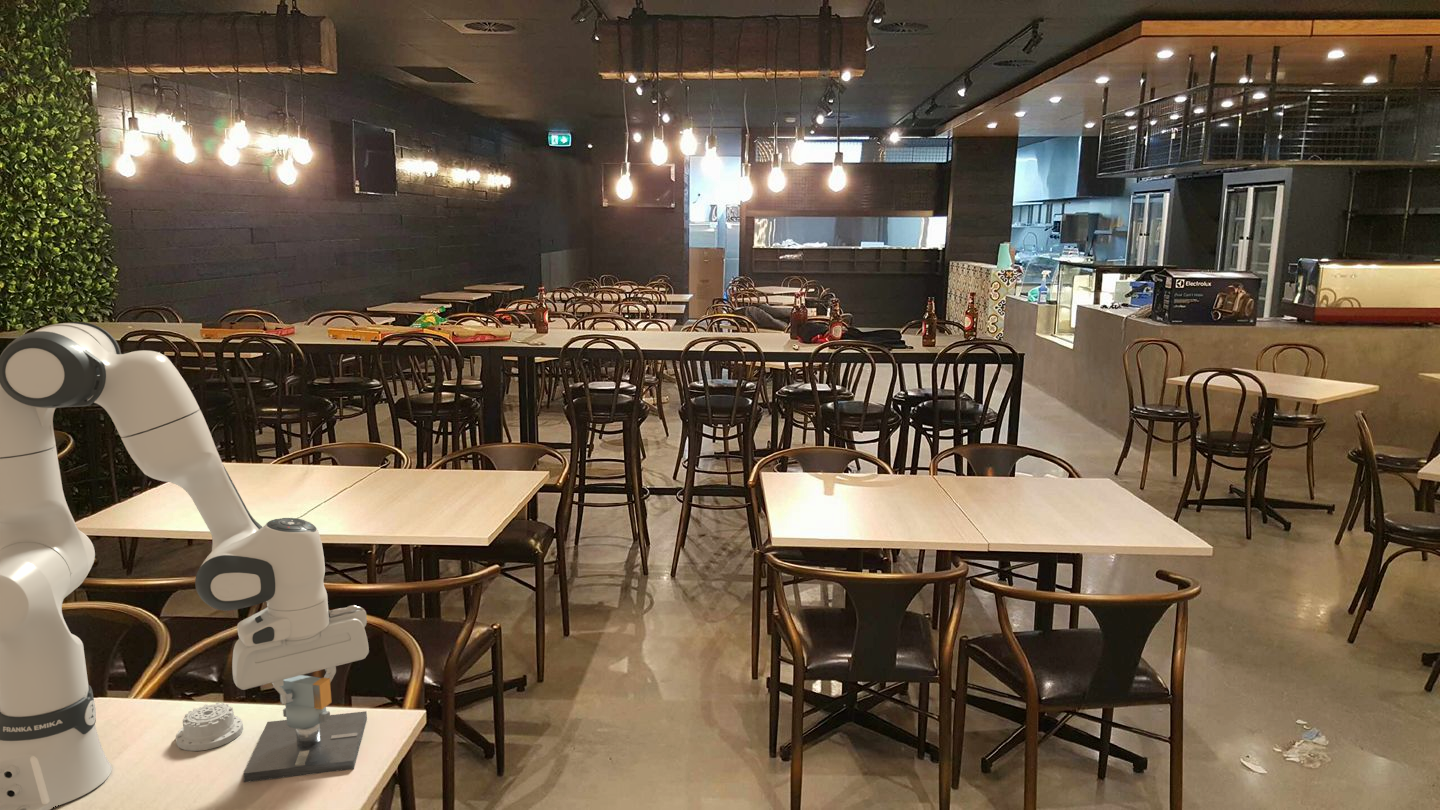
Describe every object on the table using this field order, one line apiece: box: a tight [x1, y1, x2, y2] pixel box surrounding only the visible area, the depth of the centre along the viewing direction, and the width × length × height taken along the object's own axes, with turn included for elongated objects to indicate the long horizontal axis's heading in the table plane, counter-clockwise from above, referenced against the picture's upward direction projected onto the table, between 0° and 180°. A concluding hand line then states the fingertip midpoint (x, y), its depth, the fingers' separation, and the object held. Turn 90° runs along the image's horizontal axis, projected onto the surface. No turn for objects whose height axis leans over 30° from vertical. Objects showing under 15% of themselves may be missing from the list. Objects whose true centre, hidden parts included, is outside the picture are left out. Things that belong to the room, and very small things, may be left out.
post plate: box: [243, 710, 368, 783], centre depth 154 cm, size 16×16×5 cm
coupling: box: [279, 674, 332, 729], centre depth 152 cm, size 8×6×7 cm
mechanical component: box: [175, 702, 244, 752], centre depth 158 cm, size 10×4×10 cm
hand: (305, 697), depth 152 cm, fingers closed on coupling, 4 cm apart
